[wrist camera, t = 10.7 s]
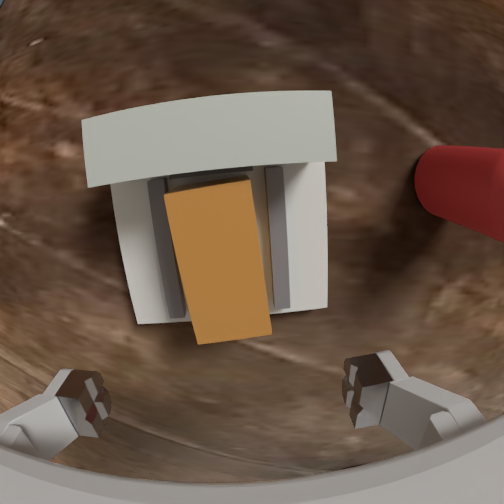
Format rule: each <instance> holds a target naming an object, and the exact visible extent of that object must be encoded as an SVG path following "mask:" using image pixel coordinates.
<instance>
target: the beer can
mask: <svg viewBox="0 0 504 504" xmlns="http://www.w3.org/2000/svg"><path fill="white" fill-rule="evenodd" d="M414 181H415V190H416V193H417V197H418V200H419V201H420V203H421V204H422V206H423V207H424V209H426V210H427V211H428V212H430V213H431V214H433V215H435V216H438V217H441V218H443V219H446V220H449V221H451V222H454V223H456V224H459V225H462V226H464V227H467V228H469V229H472V230H474V231H476V232H479V233H481V234H484V235H486V236H489V237H491V238H493V239H496V240H498V241H501V242H504V149H499V148H485V147H469V146H434V147H432V148H430V149H428V150H427V151H426V152H425V153H424V154H423V155H422V156H421V158H420V160H419V162H418V164H417V166H416V171H415V177H414Z"/></svg>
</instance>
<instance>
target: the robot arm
mask: <svg viewBox="0 0 504 504" xmlns="http://www.w3.org/2000/svg"><path fill="white" fill-rule="evenodd" d="M344 371H345V373H346V376H345V377H344V378H343V379H342V394H343V399H344V402H345V405H346V406H347V407H349V408H350V414H349V415H350V418H351V420H352V423H353V425H354V428H355V429H357V428H362V427H367V426H372V425H377V424H380V426H382V427H383V428H385V429H386V430H388V431H389V432H390V433H392V434H393V435H395V436H396V437H397V438H399V439H400V440H402V441H403V442H405V443H406V444H408V445H409V446H410V447H412V448H413V449H415V450H414V451H411V452H408V453H405V454H402V455H398V456H395V457H392V458H388V459H384V460H381V461H377V462H373V463H369V464H365V465H361V466H356V467H352V468H347V469H342V470H337V471H332V472H326V473H320V474H314V475H307V476H300V477H292V478H284V479H274V480H262V481H246V482H179V481H164V480H152V479H142V478H134V477H126V476H119V475H112V474H106V473H101V472H95V471H90V470H85V469H80V468H76V467H71V466H67V465H63V464H59V463H55V462H51V461H50V460H51V459H52V458H53V457H54V456H56V455H57V454H58V453H59V452H60V451H62V450H63V449H64V448H65V447H66V446H68V445H69V444H70V443H71V442H72V441H74V440H75V439H76V438H77V437H78V435H81V436H89V437H97V438H99V436H100V434H101V432H102V429H103V427H104V422H103V419H105V418H106V417H108V416H109V413H110V411H111V398H110V395H109V392H108V391H107V390H106V389H105V388H104V387H103V386H102V385H103V382H104V380H103V378H102V376H101V374H100V373H99V372H97V371H85V370H73V369H61V370H60V371H59V372H58V374H57V375H56V376H55V378H54V379H53V380H52V382H51V383H50V385H49V386H48V387H47V389H46V390H45V391H44V393H43V394H38V395H36V396H34V397H33V398H31V399H29V400H27V401H25V402H23V403H21V404H19V405H17V406H15V407H13V408H11V409H10V410H8V411H6V412H4V413H2V414H0V504H504V413H503V414H501V415H499V416H497V417H495V418H493V419H491V420H489V421H486V419H485V418H484V417H483V415H482V414H481V413H480V412H479V410H478V409H477V408H476V406H475V405H474V404H473V403H472V401H471V400H469V399H467V398H464V397H462V396H459V395H457V394H454V393H452V392H449V391H447V390H444V389H442V388H439V387H437V386H435V385H432V384H430V383H427V382H425V381H422V380H420V379H418V378H415V377H409V376H408V375H407V374H406V372H405V371H404V369H403V368H402V366H401V365H400V364H399V362H398V361H397V359H396V358H395V357H394V355H393V354H392V353H391V351H389V350H385V351H381V352H376V353H374V354H369V355H363V356H357V357H352V358H346V359H345V361H344Z"/></svg>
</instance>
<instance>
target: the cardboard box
mask: <svg viewBox="0 0 504 504" xmlns="http://www.w3.org/2000/svg"><path fill="white" fill-rule="evenodd" d="M164 200H165V205H166V210H167V215H168V221H169V225H170V230H171V235H172V240H173V245H174V249H175V254H176V258H177V263H178V267H179V272H180V276H181V280H182V284H183V289H184V293H185V297H186V301H187V305H188V309H189V313H190V317H191V321H192V324H193V328H194V332H195V336H196V339H197V343H198V345H199V344H207V343H215V342H223V341H230V340H237V339H244V338H251V337H258V336H264V335H270V334H272V329H271V321H270V314H269V307H268V300H267V293H266V286H265V278H264V271H263V264H262V257H261V250H260V243H259V236H258V229H257V222H256V216H255V209H254V202H253V195H252V188H251V181H250V179H249V177H248V176H247V175H242V176H235V177H229V178H223V179H216V180H210V181H205V182H199V183H193V184H188V185H182V186H178V187H176V188H174V189H172V190H171V191H169V192H167V193H166V194H164Z"/></svg>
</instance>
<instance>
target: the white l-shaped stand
mask: <svg viewBox="0 0 504 504" xmlns="http://www.w3.org/2000/svg"><path fill="white" fill-rule="evenodd" d="M82 134H83V147H84V157H85V167H86V175H87V183H88V188H90V187H95V186H101V185H107V184H110V186H111V193H112V200H113V207H114V213H115V220H116V226H117V232H118V237H119V243H120V248H121V253H122V258H123V263H124V268H125V273H126V277H127V282H128V286H129V291H130V295H131V299H132V303H133V307H134V311H135V315H136V319H137V323H138V324H151V323H170V322H186V321H191V317H190V313H189V309H188V305H187V301H186V297H185V293H184V289H183V284H182V280H181V276H180V272H179V267H178V263H177V258H176V254H175V249H174V245H173V240H172V235H171V230H170V225H169V221H168V215H167V210H166V205H165V200H164V194H166V193H167V192H169V191H171V190H172V189H174V188H176V187H178V186H182V185H188V184H193V183H199V182H205V181H210V180H216V179H223V178H229V177H235V176H242V175H247V176H248V177H249V179H250V181H251V188H252V195H253V202H254V209H255V216H256V222H257V229H258V236H259V243H260V250H261V257H262V264H263V271H264V278H265V286H266V293H267V300H268V307H269V314H277V313H286V312H294V311H303V310H311V309H319V308H326V307H327V287H328V252H327V206H326V182H325V163H324V162H331V161H337V156H336V140H335V126H334V114H333V103H332V93H331V91H270V92H252V93H238V94H226V95H216V96H207V97H198V98H191V99H183V100H176V101H170V102H164V103H158V104H152V105H146V106H141V107H136V108H131V109H126V110H121V111H117V112H112V113H108V114H104V115H100V116H96V117H92V118H88V119H84V120H82Z"/></svg>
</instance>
